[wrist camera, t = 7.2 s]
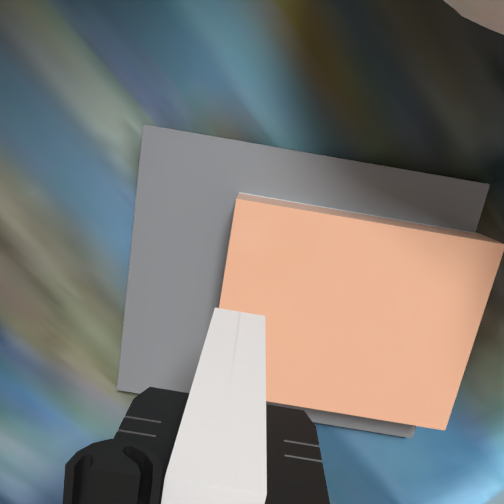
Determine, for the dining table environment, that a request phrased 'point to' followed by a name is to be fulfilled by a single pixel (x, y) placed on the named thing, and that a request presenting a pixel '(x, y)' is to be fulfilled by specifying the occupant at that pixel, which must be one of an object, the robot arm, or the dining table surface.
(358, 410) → the tile
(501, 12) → the white garlic bulb
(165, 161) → the mat
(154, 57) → the dining table surface
